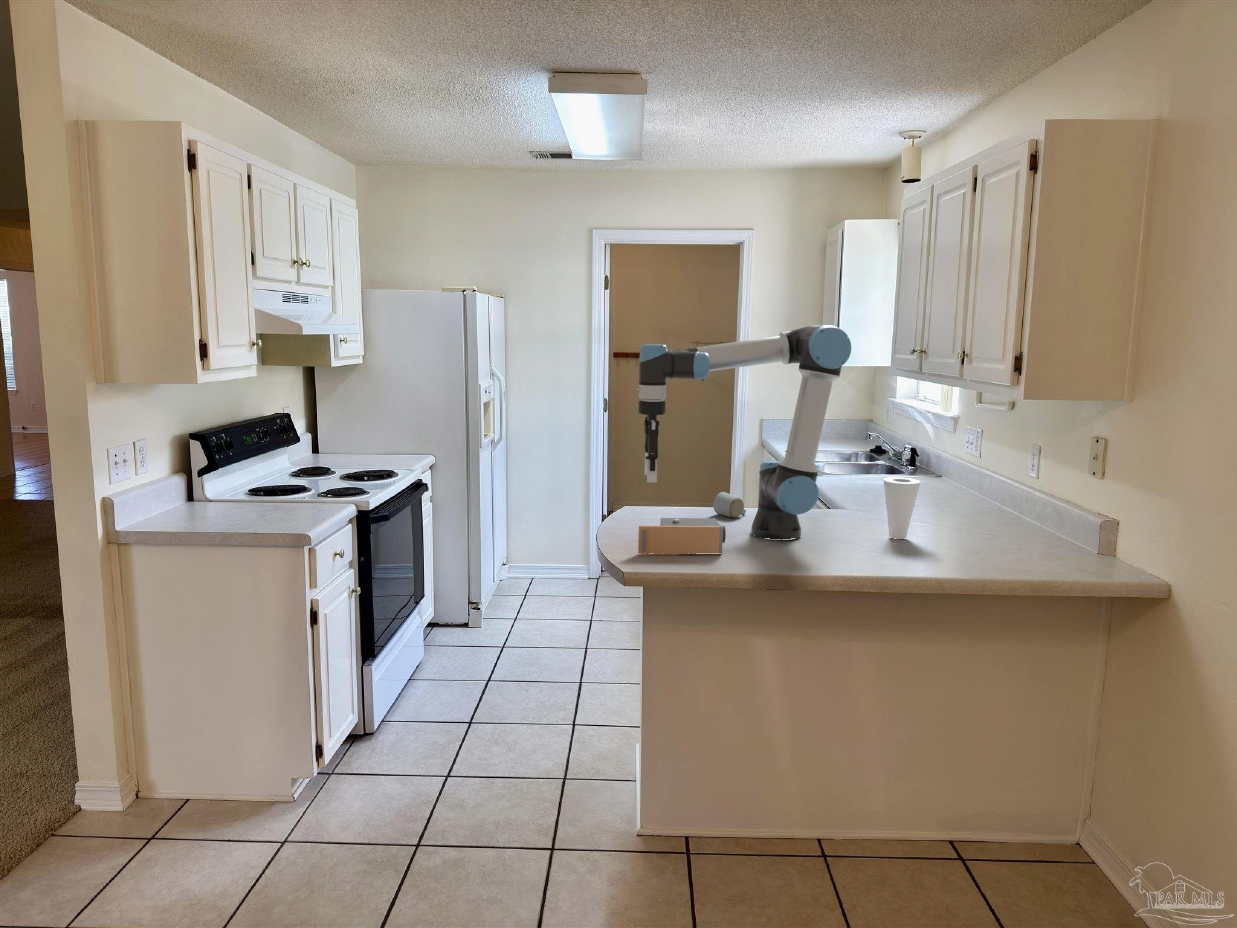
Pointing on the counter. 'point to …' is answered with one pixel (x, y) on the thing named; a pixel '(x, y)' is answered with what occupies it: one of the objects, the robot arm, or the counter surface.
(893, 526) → the cup
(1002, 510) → the counter surface
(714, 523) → the camera housing
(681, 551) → the door
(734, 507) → the ceramic mug
